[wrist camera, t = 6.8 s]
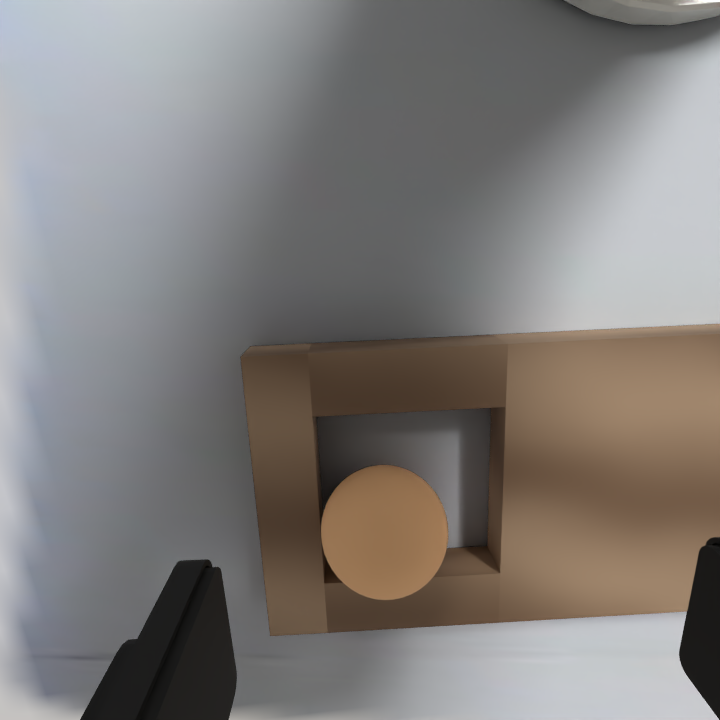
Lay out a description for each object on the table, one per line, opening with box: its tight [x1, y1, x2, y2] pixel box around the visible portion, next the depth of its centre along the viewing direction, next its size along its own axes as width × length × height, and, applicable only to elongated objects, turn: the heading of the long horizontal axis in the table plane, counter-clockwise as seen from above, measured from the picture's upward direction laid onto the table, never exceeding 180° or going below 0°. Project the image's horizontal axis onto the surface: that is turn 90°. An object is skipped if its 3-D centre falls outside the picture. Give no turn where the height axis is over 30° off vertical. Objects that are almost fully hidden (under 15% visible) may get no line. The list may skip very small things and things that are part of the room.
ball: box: [321, 465, 448, 600], centre depth 15 cm, size 4×4×4 cm
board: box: [240, 324, 720, 636], centre depth 16 cm, size 10×22×2 cm, turn 92°
